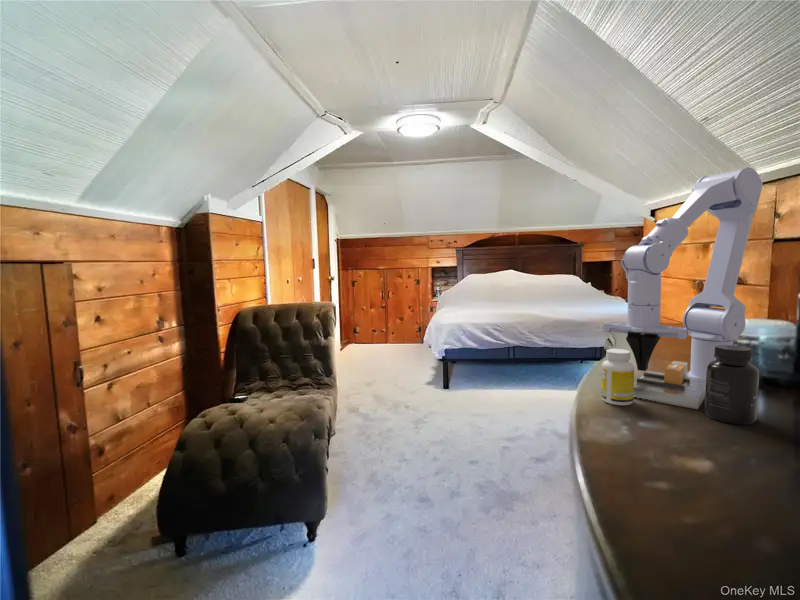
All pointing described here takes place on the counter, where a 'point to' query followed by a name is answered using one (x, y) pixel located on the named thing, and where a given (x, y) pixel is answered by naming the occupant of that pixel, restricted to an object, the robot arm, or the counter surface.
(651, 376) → the strip
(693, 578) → the counter surface
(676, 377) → the orange cuboid
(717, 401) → the supplement bottle
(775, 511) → the counter surface
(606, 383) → the supplement bottle
